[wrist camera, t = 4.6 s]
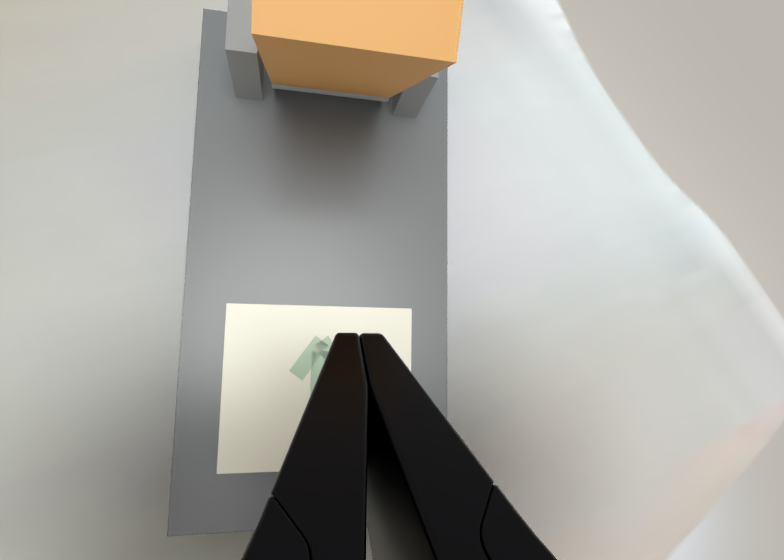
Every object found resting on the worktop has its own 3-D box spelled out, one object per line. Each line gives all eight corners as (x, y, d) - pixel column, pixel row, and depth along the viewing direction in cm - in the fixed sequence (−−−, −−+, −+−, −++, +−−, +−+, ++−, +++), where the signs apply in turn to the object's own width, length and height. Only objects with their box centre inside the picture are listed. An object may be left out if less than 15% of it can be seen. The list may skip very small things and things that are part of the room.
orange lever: (382, 104, 20) (455, 67, 11) (273, 91, 19) (251, 39, 10) (387, 51, 19) (467, -34, 10) (275, 36, 18) (253, -74, 9)
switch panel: (431, 500, 20) (479, 555, 15) (180, 515, 18) (138, 583, 13) (433, 69, 23) (475, -7, 18) (211, 39, 21) (186, -57, 16)
